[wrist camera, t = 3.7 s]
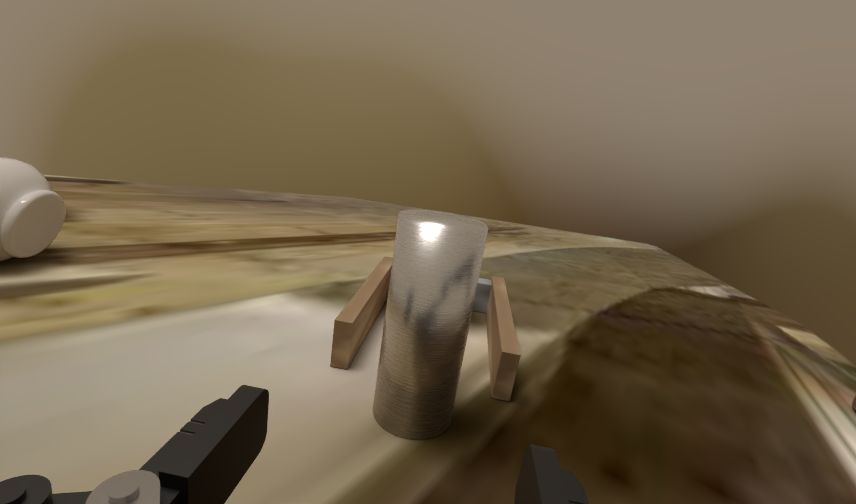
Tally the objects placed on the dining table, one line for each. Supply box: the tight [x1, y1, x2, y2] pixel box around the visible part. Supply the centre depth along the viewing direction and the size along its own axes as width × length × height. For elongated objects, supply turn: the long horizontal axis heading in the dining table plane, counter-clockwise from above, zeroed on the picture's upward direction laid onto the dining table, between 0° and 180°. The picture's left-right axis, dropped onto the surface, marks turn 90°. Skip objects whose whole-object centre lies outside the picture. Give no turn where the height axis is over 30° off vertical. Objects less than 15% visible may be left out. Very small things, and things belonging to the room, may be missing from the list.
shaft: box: [373, 210, 489, 440], centre depth 24 cm, size 5×5×12 cm
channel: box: [330, 257, 520, 401], centre depth 35 cm, size 12×16×4 cm
